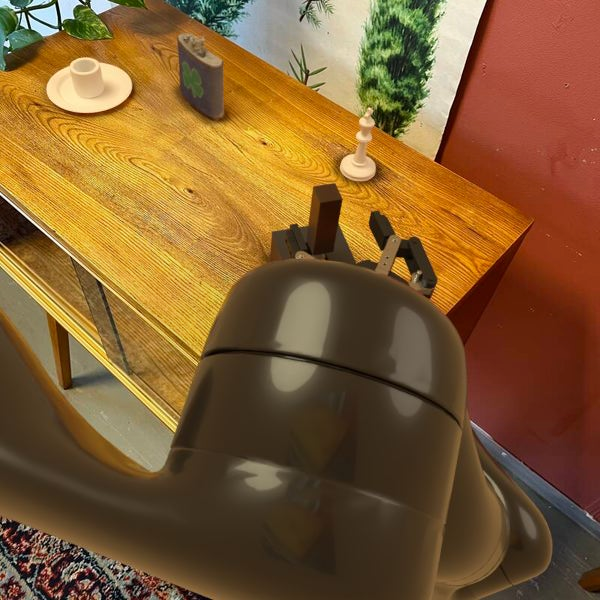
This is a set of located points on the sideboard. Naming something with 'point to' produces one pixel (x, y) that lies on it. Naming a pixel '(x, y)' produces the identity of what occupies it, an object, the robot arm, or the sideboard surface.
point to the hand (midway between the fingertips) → (333, 223)
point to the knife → (323, 219)
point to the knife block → (280, 250)
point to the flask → (200, 77)
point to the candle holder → (89, 86)
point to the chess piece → (360, 153)
